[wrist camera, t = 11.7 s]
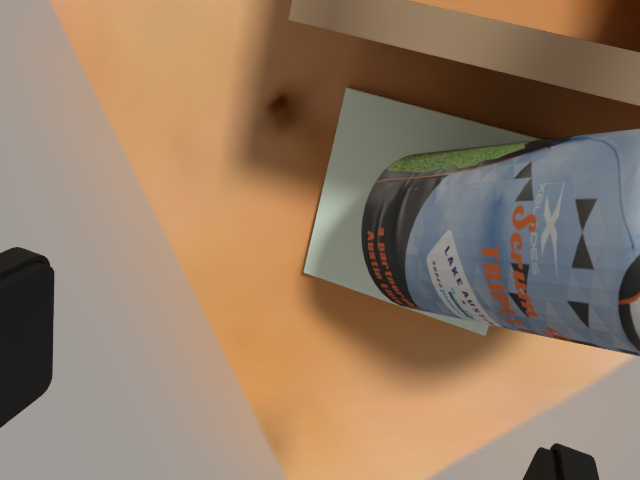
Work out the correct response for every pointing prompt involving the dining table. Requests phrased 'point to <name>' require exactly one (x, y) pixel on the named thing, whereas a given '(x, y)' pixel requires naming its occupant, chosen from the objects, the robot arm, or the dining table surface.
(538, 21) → the dining table surface
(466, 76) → the dining table surface
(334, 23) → the box
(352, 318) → the dining table surface
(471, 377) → the dining table surface
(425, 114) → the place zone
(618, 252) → the beverage can
